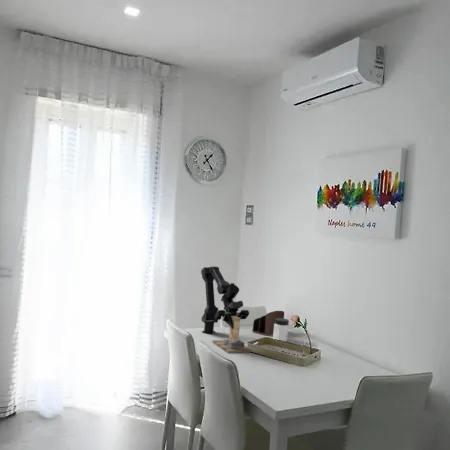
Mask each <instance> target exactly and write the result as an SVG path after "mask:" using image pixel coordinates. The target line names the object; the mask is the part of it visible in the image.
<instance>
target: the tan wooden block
mask: <svg viewBox="0 0 450 450" xmlns="http://www.w3.org/2000/svg"><path fill="white" fill-rule="evenodd" d="M231 319H232V322H233V326H234V328H233V329H232V328H231V327H230V326H229V337H228V340H232V341H238V340H240V327H241V326H240V325H241V319H240V317H238V316H231Z"/></svg>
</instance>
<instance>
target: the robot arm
mask: <svg viewBox="0 0 450 450" xmlns="http://www.w3.org/2000/svg"><path fill="white" fill-rule="evenodd" d="M200 271H201V272H200V274H201V277H202V280H203V281H204V284H205V297H206V300H205V301H206V307H205V308H204V313H203V314H202V316H201V322H202V323H204V327H203V330H202V331H201V332H202V333H204V334H211V335H213V334H214V333H215V332H216V330H214V329H215V324H216V323H218V321H220V320H221V319H222V321H223V322H225V323H226V324H227V325H228V326H229V328H230V327H231V328H232V329H233V328H234V326H233V322H232V319H231V316H238V317H240V320H246V319H247V318H248V316H249V315H250V311H249V310H248V309H241V308H243V307H244V302H243V300H238V301H234V299H235V298H236V297H237V295H238V294H239V292H240V288H239V287H238V286H237V285H236V284H235V283H232V282H231V283H229V282H228V281H226V279H225V278H224V276H223V274H222V273H221V271H220V268H219V266H208V267H203V268H201V270H200ZM214 281H215V283H216V286H217V288H216V290H217V292H218V294H219V295H222V296H221V299H220V301H221V302H223V303H222V304H223V306H224V307H223V309H219V307H217V306H216V304H215V302H216V301H215V289H214V286H215V285H214ZM239 309H241V311H240V312H239Z"/></svg>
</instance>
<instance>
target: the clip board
mask: <svg viewBox="0 0 450 450" xmlns="http://www.w3.org/2000/svg"><path fill="white" fill-rule="evenodd" d="M211 341H212V343H213V345H216V347H219V348H220V349H221V350H223V351H224V352H225V353H227V354H236V353H238V354H240V353H252V352H253V349H252V348H250V347H248V346H247V345H245V342H244V341H243V340H240V339H239V340H238V341H232V340H231V339H229V338H224V339H217V340H216V339H215V340H214V339H212V340H211ZM249 348H250V349H249Z"/></svg>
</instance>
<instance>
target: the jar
mask: <svg viewBox="0 0 450 450" xmlns="http://www.w3.org/2000/svg"><path fill="white" fill-rule="evenodd" d="M289 323H290V320H289V319H287V318H285V317H284V318H276V319H275V324H274V332H273V334H272V340H274V339H277V340H282V341H281V342H287V341H288V337H289V327H290V324H289ZM277 340H276V341H277Z"/></svg>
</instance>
